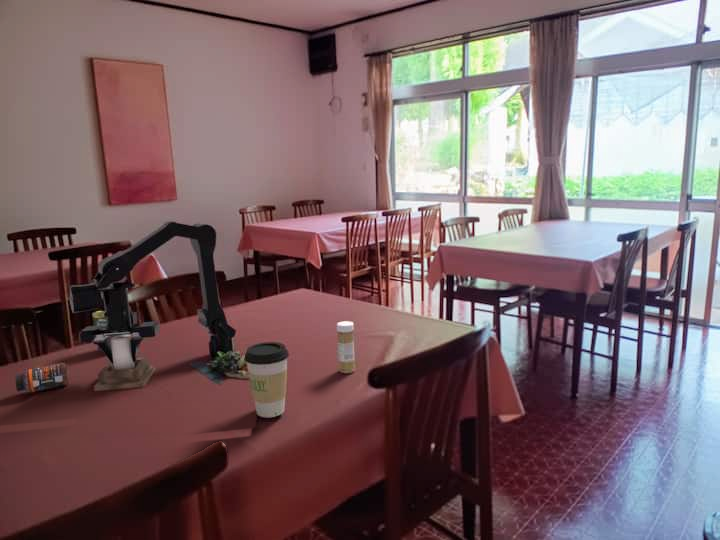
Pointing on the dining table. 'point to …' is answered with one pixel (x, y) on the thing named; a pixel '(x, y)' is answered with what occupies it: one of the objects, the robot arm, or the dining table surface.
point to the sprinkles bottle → (346, 347)
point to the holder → (125, 376)
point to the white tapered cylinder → (122, 352)
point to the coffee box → (100, 322)
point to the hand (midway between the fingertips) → (124, 362)
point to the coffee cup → (268, 377)
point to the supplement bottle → (42, 378)
